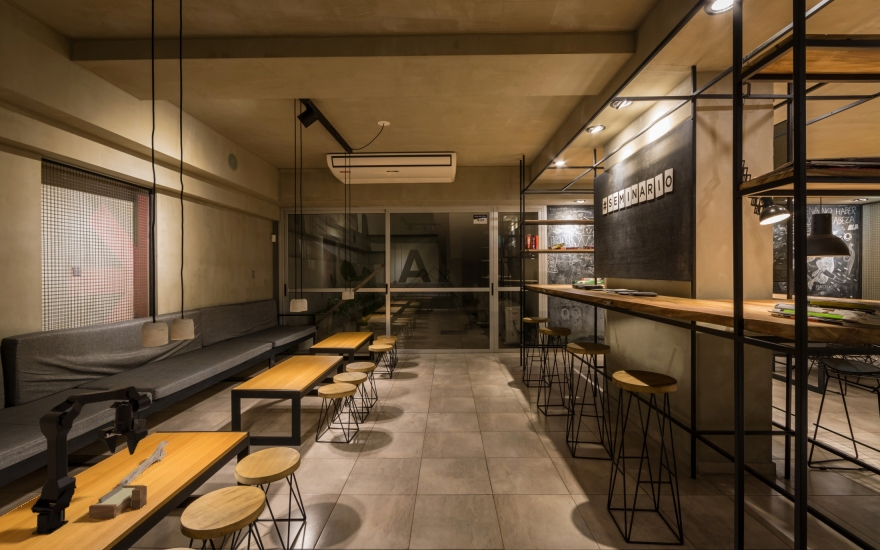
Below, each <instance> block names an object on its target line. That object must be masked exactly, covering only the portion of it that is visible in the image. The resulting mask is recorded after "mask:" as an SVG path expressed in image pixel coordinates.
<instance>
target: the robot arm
mask: <svg viewBox="0 0 880 550" xmlns="http://www.w3.org/2000/svg"><path fill="white" fill-rule="evenodd" d="M107 401H114V402H113V404H111V405H110V406H109V409H114V419H113V420H111V424H114V426H109V427H106V428H102V429H100V430H99V431H98V432H97V438H99V439H100V440H101V441H102V442H103V443H104V445H105V446H106V447H107V449H108V450H109V452H110V453H111V454H112V455H113V454H115V453H116V449H117V441H118V440H117V439H118V437H119V436H124V437H126V439H127V440H126V445H127V449H128V452H129V455H130V456H133V455H134V454H135V451H136V449H137V447H138V444H139V443H140V441H141V440H142V439H144V438H145V437H147V436H149V429H147V428H145V425H146V422H147V419H137V418H136V416H135V415H134V416H133V413H137V412H140V411H142V410H146V409H148V408H150V406H151V405H152V400H151V398H150V396H148V393H141V394H140V393H139V391H137V388H136V386H134V385H117V386H115V387H110V389H108V390H102V391H101V390H99V391H93V392H85V393H75V394H74V393H73V394H71V395H69V396H68V397H67V398H66V399H65V400H64V401H62V402H60V403H58V404H57V405H55V406H53V407H52V408H51V409H49V410H48V412H46V413H45V414H43V416H42V417H40V419H39V421H38V422H39V423H38V424H39V428H40V433H42V435H43V436H44V438H45V439H46V450H47V451H46V455H47V456H46V458H47V459H46V461H47V463H46V464H47V470H46V471H47V480H46V482H45V483H44V485H43V486H42V488H41V492H40V493H41V494H40V496H39V497H38V499H37V500H36V501H35V502H34V504H33V505H32V507H30V511H31V512H32V514H37V516H36V529H35V530H33V531H32V532H31V534H32V535H43V534H44V535H45V534H53V533H54V532H55V531H58V529H60V528H62V527H63V526H65V525H66V524H68V523H69V519H66V509H68V508H69V507H70V504H71V501H72V499H73V496H74V494H75V492H76V491H75V490H76V489H77V485H76V482H77V478H76V476H75V477H74V476H69V474H68V434H69V433H70V431H71V430H72V428H73V424H74V420H75V419H76V418H77V417H78V416H79V415H80V414H81V412H82V409H83V407H84V406H86V405H88V404H93V403H101V402H107ZM70 408H71V409H70ZM68 410H69V411H68Z"/></svg>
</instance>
